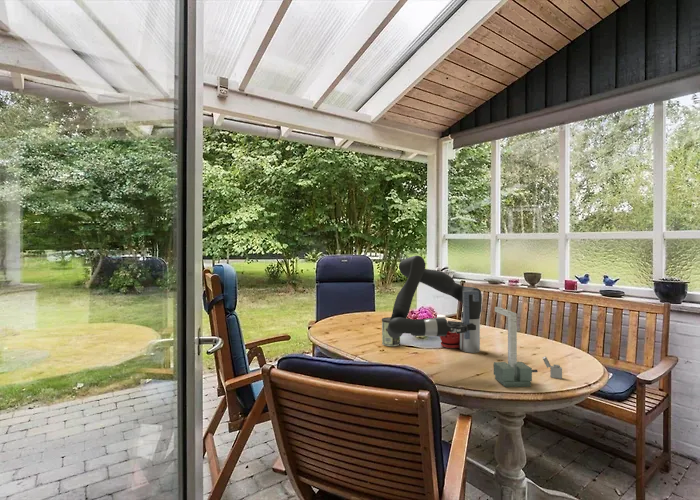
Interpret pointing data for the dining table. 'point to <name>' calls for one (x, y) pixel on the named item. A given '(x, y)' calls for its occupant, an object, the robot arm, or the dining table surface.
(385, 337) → the coffee can
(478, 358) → the dining table surface
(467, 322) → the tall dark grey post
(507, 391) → the dining table surface
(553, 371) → the lighter
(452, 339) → the plant pot
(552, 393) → the dining table surface
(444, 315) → the spread jar
